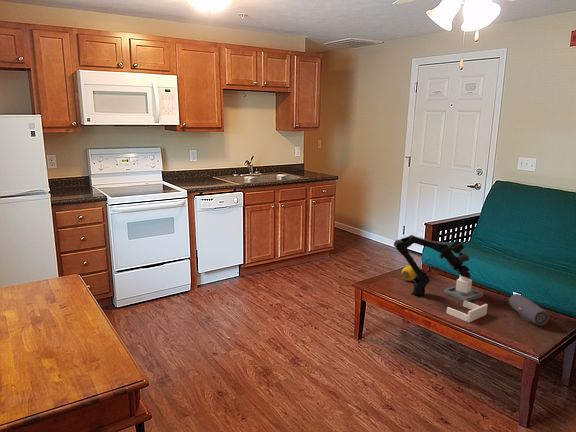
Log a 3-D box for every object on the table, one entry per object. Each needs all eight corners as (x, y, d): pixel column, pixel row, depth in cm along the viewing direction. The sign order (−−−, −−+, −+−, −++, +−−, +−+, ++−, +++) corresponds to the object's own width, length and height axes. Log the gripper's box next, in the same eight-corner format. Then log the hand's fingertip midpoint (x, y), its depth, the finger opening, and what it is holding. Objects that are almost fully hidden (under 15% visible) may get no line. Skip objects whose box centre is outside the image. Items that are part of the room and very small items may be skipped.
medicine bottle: (459, 287, 271) (461, 269, 269) (471, 290, 267) (473, 272, 264) (455, 290, 266) (457, 272, 263) (467, 293, 262) (469, 275, 259)
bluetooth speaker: (506, 309, 248) (508, 293, 246) (521, 308, 249) (524, 292, 247) (531, 327, 226) (534, 310, 224) (548, 327, 227) (551, 309, 225)
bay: (446, 313, 242) (447, 303, 241) (464, 305, 252) (465, 296, 250) (468, 322, 231) (470, 312, 230) (486, 314, 241) (487, 304, 240)
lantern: (418, 258, 302) (394, 267, 283) (431, 264, 296) (406, 274, 276) (414, 270, 306) (390, 280, 287) (426, 277, 300) (402, 288, 280)
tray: (443, 293, 270) (444, 289, 269) (460, 288, 278) (460, 284, 277) (465, 302, 256) (466, 298, 256) (482, 297, 265) (483, 293, 264)
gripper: (468, 254, 251) (484, 272, 254) (455, 245, 270) (470, 262, 272) (453, 267, 253) (469, 284, 256) (441, 257, 271) (457, 273, 274)
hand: (467, 275), depth 264 cm, fingers closed on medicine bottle, 6 cm apart
